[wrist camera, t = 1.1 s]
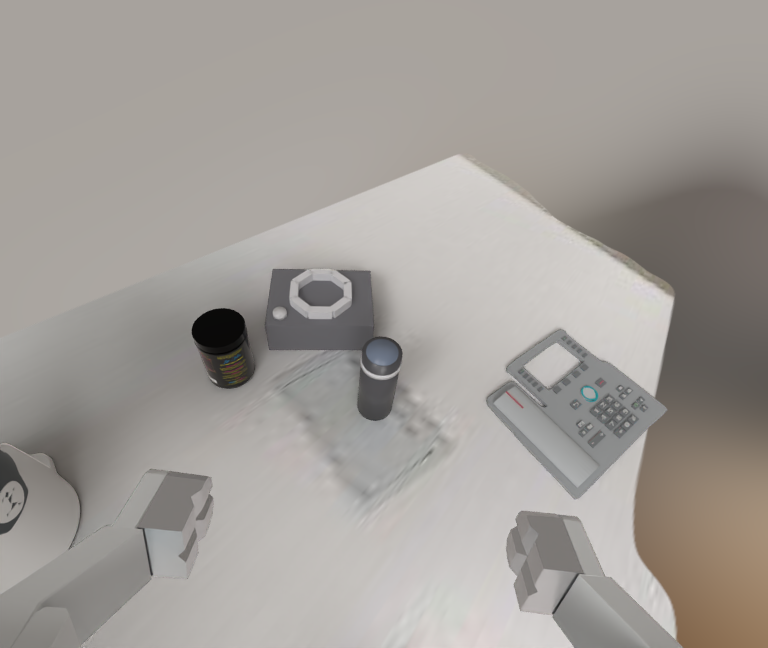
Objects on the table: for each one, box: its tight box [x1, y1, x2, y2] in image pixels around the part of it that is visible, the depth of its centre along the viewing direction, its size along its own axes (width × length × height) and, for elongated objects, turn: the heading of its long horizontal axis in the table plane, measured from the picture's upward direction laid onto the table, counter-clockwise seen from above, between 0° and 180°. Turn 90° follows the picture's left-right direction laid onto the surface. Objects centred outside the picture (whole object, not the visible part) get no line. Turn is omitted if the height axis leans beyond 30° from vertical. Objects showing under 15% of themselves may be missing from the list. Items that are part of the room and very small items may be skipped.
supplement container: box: [192, 308, 255, 389], centre depth 61 cm, size 7×7×10 cm
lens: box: [357, 337, 402, 421], centre depth 59 cm, size 5×5×13 cm
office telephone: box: [486, 330, 667, 499], centre depth 67 cm, size 23×3×20 cm
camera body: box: [265, 268, 374, 350], centre depth 70 cm, size 16×12×8 cm
